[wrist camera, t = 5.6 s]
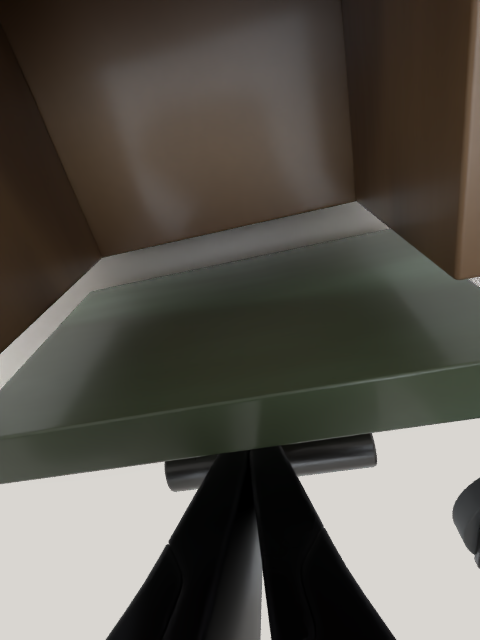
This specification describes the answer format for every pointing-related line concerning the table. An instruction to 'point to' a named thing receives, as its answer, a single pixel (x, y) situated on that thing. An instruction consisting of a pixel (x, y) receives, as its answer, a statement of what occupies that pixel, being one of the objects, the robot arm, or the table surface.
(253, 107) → the drawer
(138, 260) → the table surface
